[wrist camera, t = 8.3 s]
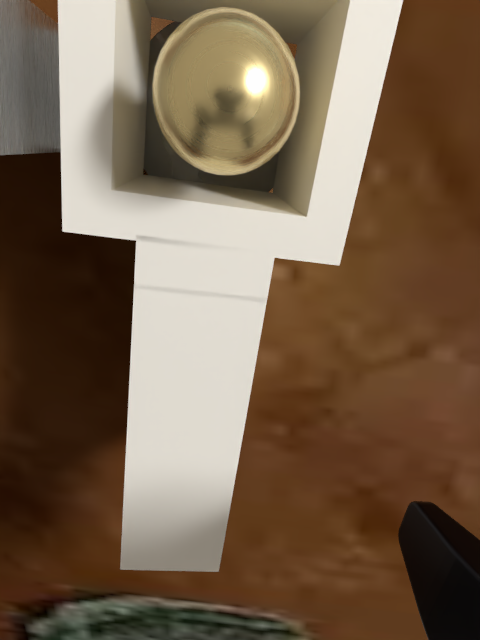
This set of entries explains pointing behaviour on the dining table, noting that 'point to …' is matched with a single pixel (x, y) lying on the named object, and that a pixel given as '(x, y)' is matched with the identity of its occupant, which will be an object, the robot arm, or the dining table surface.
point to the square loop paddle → (206, 242)
